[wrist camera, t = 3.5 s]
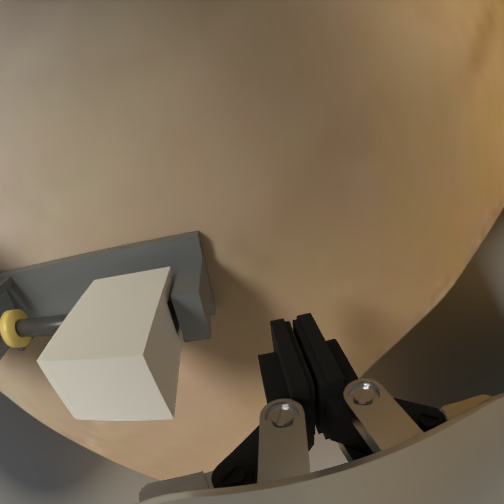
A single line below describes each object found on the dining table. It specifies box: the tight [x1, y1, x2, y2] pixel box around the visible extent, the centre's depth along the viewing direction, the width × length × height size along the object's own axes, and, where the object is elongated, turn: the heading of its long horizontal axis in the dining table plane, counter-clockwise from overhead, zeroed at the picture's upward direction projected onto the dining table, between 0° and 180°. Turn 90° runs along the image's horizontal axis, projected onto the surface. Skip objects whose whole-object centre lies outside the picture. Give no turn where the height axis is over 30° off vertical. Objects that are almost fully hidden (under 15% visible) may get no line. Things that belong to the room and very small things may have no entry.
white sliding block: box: [37, 267, 183, 421], centre depth 13 cm, size 5×4×8 cm
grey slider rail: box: [0, 231, 215, 359], centre depth 16 cm, size 19×6×7 cm, turn 98°
